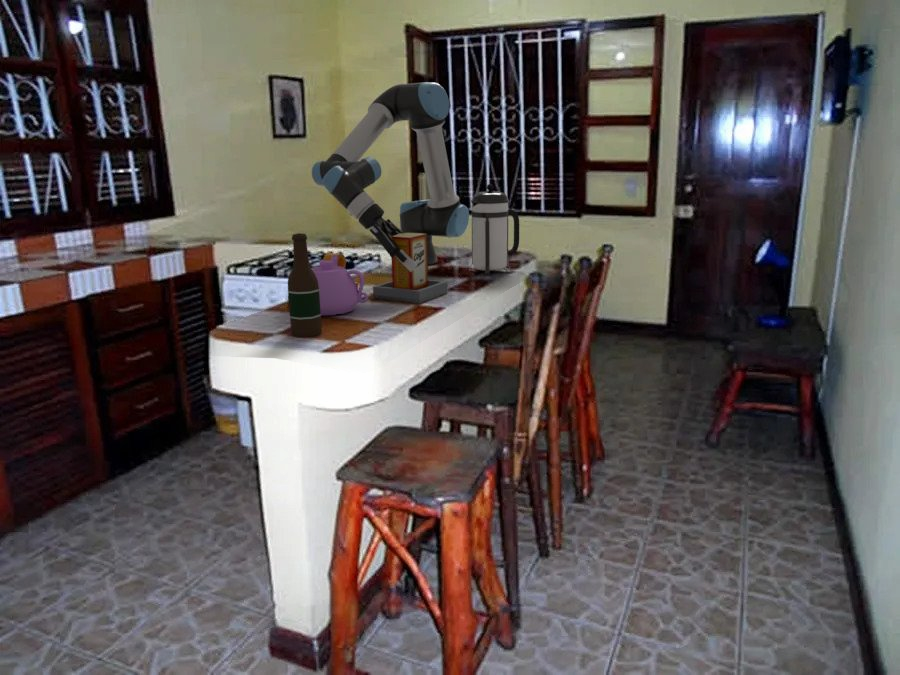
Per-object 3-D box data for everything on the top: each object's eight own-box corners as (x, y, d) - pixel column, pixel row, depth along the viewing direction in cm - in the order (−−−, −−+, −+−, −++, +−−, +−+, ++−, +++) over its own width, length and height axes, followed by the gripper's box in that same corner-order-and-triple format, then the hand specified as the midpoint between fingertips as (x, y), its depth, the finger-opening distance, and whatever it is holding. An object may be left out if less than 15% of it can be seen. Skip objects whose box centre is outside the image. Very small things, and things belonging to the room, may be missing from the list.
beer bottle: (285, 337, 166) (276, 236, 159) (297, 328, 173) (289, 231, 166) (316, 338, 164) (309, 236, 158) (327, 329, 172) (320, 231, 165)
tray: (403, 288, 219) (402, 277, 218) (447, 292, 211) (447, 281, 210) (373, 298, 205) (372, 286, 204) (419, 303, 198) (419, 291, 197)
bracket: (338, 297, 207) (336, 257, 204) (319, 295, 211) (316, 256, 207) (359, 290, 216) (357, 252, 213) (340, 288, 220) (338, 250, 216)
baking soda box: (409, 283, 213) (407, 231, 209) (427, 285, 210) (426, 232, 206) (392, 289, 205) (390, 235, 201) (411, 291, 202) (410, 236, 198)
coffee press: (509, 276, 234) (510, 185, 226) (463, 275, 238) (462, 185, 230) (519, 267, 250) (520, 182, 242) (475, 266, 254) (475, 182, 246)
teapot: (374, 300, 203) (372, 252, 199) (364, 318, 182) (361, 266, 178) (299, 300, 204) (296, 253, 200) (280, 319, 183) (276, 267, 179)
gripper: (370, 216, 216) (420, 267, 217) (344, 225, 194) (399, 281, 195) (386, 198, 214) (437, 250, 215) (361, 206, 192) (417, 263, 193)
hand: (419, 265), depth 205 cm, fingers closed on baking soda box, 11 cm apart
